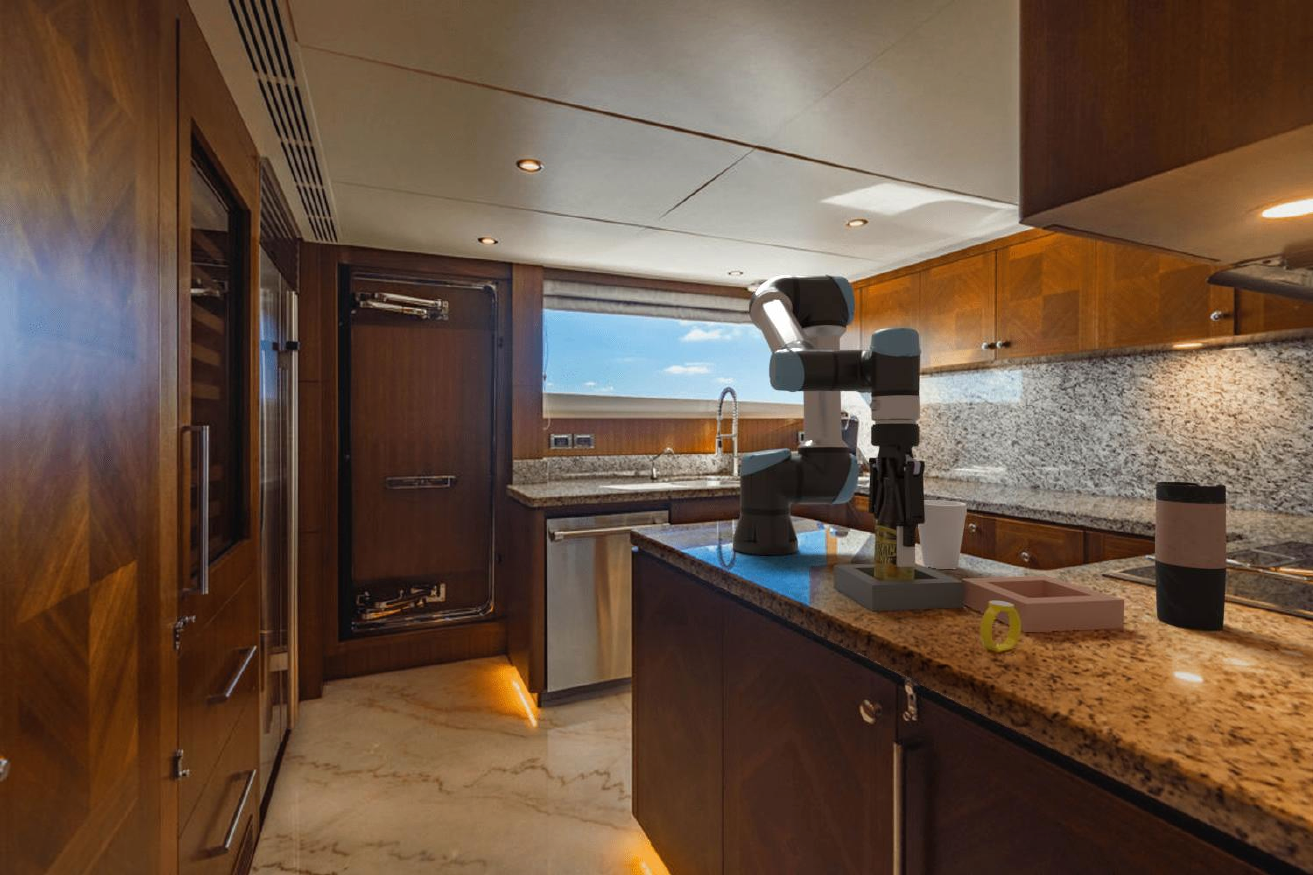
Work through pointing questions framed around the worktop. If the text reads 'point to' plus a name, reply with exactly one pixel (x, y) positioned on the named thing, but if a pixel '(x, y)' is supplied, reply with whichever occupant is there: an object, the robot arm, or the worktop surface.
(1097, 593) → the holder
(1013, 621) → the watch
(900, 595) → the holder
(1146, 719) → the worktop surface
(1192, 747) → the worktop surface
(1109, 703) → the worktop surface
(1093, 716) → the worktop surface
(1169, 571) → the travel mug
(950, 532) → the foam cup
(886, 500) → the sauce bottle
